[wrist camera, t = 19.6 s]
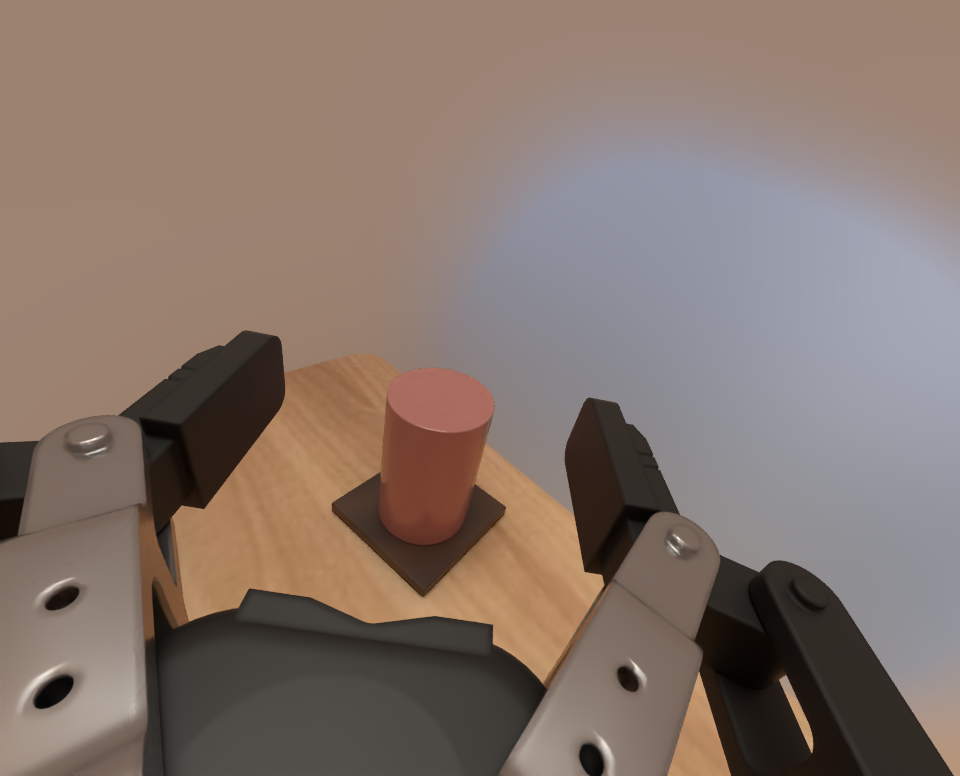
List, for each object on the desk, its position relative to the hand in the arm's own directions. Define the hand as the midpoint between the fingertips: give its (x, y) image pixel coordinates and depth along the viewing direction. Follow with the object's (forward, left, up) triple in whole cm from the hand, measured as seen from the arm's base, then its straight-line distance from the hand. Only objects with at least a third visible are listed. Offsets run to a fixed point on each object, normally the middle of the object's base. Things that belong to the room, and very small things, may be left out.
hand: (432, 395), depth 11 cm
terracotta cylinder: (-6, +9, -18) cm, 21 cm away
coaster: (-6, +9, -19) cm, 22 cm away
